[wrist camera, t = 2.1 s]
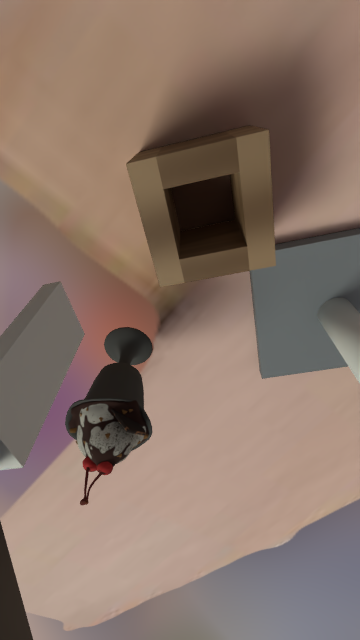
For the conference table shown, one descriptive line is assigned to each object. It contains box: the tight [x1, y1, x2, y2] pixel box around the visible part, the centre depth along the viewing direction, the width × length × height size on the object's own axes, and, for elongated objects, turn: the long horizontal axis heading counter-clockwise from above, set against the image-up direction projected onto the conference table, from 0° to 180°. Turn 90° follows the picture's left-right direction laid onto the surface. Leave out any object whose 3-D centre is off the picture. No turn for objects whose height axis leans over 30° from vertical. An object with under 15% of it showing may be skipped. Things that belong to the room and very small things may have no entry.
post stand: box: [250, 228, 360, 383], centre depth 26 cm, size 14×14×9 cm
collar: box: [126, 125, 276, 287], centre depth 22 cm, size 8×8×6 cm
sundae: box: [65, 327, 152, 505], centre depth 27 cm, size 7×7×15 cm
